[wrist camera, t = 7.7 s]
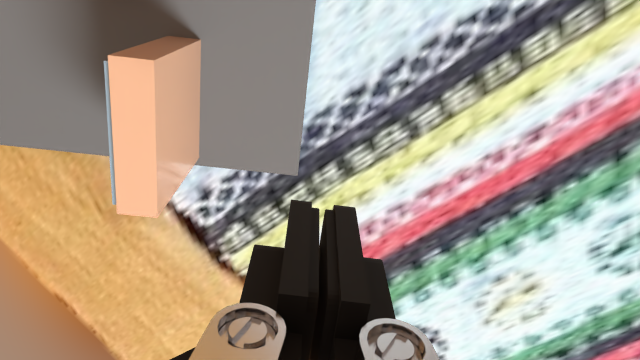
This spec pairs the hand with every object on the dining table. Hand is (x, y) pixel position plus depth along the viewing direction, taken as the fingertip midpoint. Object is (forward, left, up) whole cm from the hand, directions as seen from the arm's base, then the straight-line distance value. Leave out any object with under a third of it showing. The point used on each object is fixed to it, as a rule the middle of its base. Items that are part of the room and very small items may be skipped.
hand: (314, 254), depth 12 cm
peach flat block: (+8, +1, -16) cm, 18 cm away
